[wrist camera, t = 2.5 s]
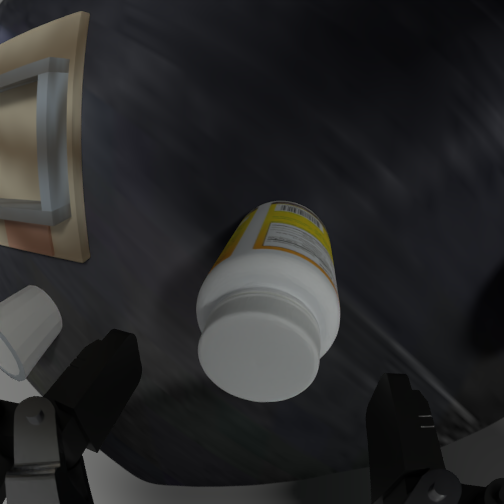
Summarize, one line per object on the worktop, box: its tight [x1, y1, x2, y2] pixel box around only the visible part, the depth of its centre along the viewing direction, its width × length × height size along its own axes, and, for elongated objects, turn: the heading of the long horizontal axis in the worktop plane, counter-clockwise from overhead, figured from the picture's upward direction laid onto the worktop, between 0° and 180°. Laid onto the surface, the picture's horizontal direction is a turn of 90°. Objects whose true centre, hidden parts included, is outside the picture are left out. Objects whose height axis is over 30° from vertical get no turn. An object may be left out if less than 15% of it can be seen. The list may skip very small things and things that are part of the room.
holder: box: [0, 11, 90, 263], centre depth 18 cm, size 18×12×3 cm, turn 176°
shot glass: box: [0, 285, 63, 381], centre depth 23 cm, size 7×7×7 cm
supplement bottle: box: [196, 201, 340, 402], centre depth 14 cm, size 6×6×10 cm
